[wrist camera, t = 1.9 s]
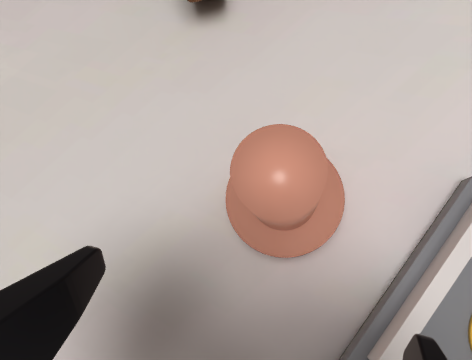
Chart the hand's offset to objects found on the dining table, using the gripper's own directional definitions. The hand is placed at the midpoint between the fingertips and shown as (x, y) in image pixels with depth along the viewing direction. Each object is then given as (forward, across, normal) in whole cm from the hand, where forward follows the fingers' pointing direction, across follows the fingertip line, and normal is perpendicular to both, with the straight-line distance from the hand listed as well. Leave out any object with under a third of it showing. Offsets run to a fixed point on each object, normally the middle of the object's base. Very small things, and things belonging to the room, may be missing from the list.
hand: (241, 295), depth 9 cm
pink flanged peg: (+11, 0, +5) cm, 12 cm away
